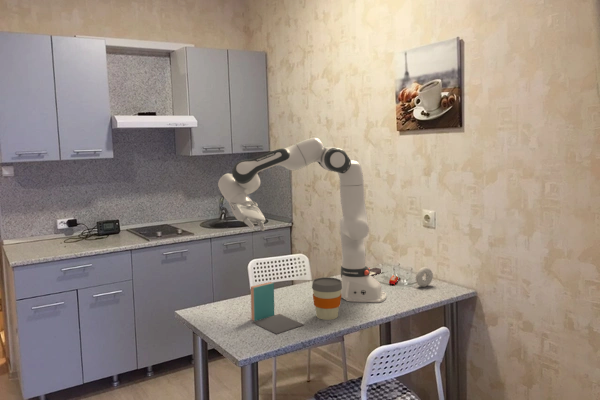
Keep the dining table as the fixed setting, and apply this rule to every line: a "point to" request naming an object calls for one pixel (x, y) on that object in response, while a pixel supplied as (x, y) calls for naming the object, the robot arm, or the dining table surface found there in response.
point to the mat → (278, 323)
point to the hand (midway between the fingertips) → (258, 228)
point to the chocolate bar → (375, 271)
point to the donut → (420, 274)
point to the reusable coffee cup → (327, 297)
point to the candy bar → (393, 280)
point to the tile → (262, 301)
